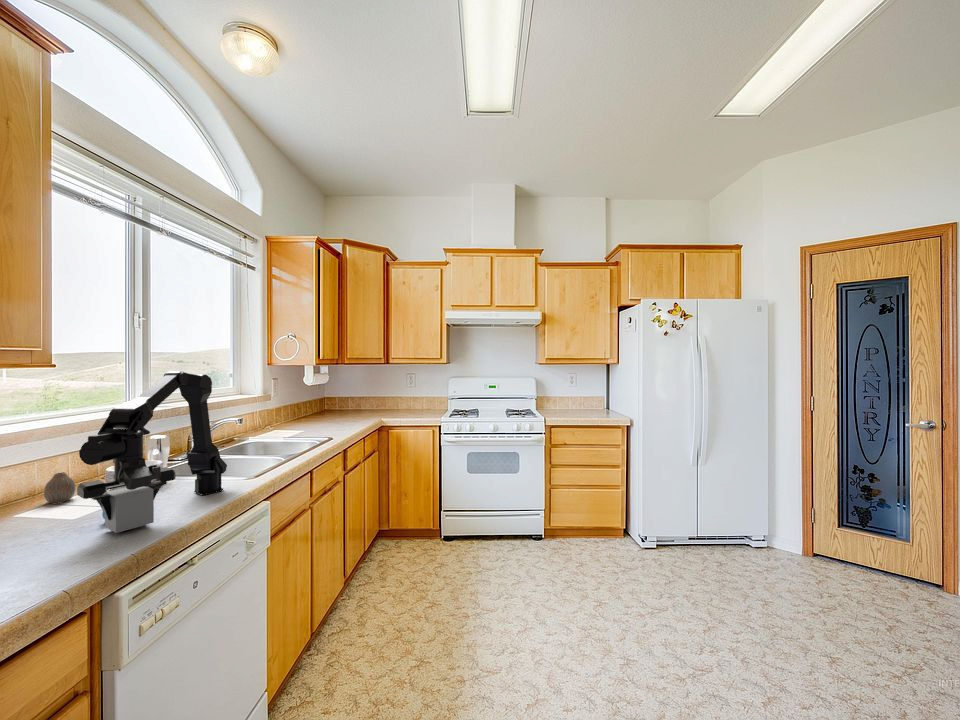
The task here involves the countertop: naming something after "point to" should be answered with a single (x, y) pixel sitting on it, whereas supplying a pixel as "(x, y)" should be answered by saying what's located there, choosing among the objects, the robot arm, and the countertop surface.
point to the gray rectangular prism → (130, 508)
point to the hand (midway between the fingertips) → (129, 514)
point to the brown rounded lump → (59, 488)
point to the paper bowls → (110, 471)
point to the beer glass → (158, 448)
